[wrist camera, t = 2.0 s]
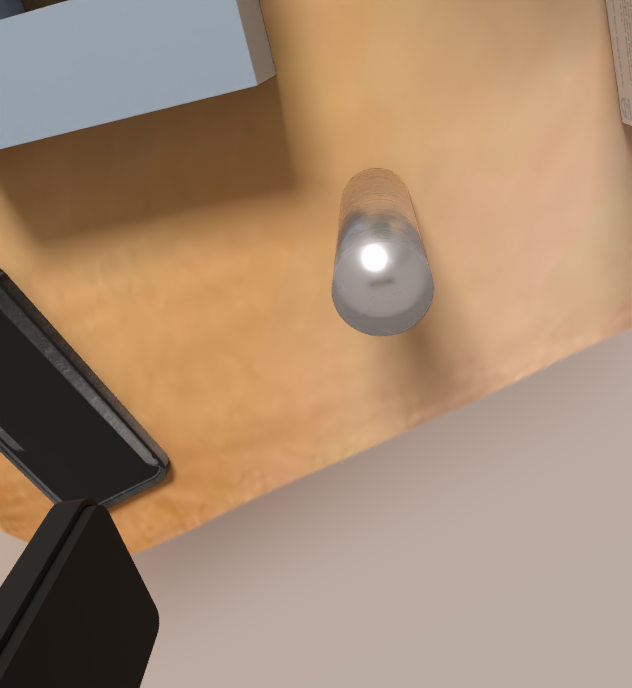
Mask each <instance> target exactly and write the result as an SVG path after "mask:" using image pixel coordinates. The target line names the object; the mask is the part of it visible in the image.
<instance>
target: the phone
mask: <svg viewBox="0 0 632 688" xmlns="http://www.w3.org/2000/svg"><path fill="white" fill-rule="evenodd" d="M0 452H1V453H2V454H3V455H4V456H5V457H6V458H7V459H8V460H9V461H10V462H11V463H13V464H14V465H15V466H16V467H17V468H18V469H19V470H20V471H21V472H22V473H23V474H24V475H25V476H26V477H27V478H28V479H29V480H30V481H31V482H32V483H33V484H34V485H35V486H36V487H37V488H38V489H39V490H40V491H42V492H43V493H44V494H45V495H46V496H47V497H48V498H49V499H50V500H51V501H52V502H53V503H54V504H56V503H59V502H64V501H71V500H78V499H85V498H92V499H93V500H95V501H96V502H97V504H98V505H103V506H104V507H106V509H107V508H109V507H111V506H113V505H115V504H117V503H119V502H121V501H123V500H125V499H127V498H130V497H132V496H134V495H136V494H138V493H140V492H142V491H144V490H146V489H148V488H150V487H152V486H154V485H156V484H158V483H160V482H161V481H163V480H164V478H165V477H166V474H167V472H168V470H169V467H170V460H169V457H168V456H167V454H166V453H165V452H164V451H163V450H162V448H161V447H160V446H159V445H158V444H157V443H156V442H155V441H154V439H153V438H152V437H151V436H150V435H149V434H148V433H147V432H146V430H145V429H144V428H143V427H142V426H141V425H140V424H139V423H138V421H137V420H136V419H135V418H134V417H133V416H132V415H131V414H130V412H129V411H128V410H127V409H126V408H125V407H124V406H123V405H122V403H121V402H120V401H119V400H118V399H117V398H116V397H115V396H114V394H113V393H112V392H111V391H110V390H109V389H108V388H107V387H106V385H105V384H104V383H103V382H102V381H101V380H100V379H99V378H98V376H97V375H96V374H95V373H94V372H93V371H92V370H91V369H90V367H89V366H88V365H87V364H86V363H85V362H84V361H83V360H82V358H81V357H80V356H79V355H78V354H77V353H76V352H75V351H74V349H73V348H72V347H71V346H70V345H69V344H68V343H67V342H66V340H65V339H64V338H63V337H62V336H61V335H60V334H59V333H58V331H57V330H56V329H55V328H54V327H53V326H52V325H51V324H50V322H49V321H48V320H47V319H46V318H45V317H44V316H43V315H42V314H41V312H40V311H39V310H38V309H37V308H36V307H35V306H34V305H33V303H32V302H31V301H30V300H29V299H28V298H27V297H26V296H25V294H24V293H23V292H22V291H21V290H20V289H19V288H18V287H17V285H16V284H15V283H14V282H13V281H12V280H11V279H10V278H9V276H8V275H7V274H6V273H5V272H4V271H3V270H1V269H0Z"/></svg>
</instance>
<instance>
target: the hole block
mask: <svg viewBox="0 0 632 688" xmlns="http://www.w3.org/2000/svg"><path fill="white" fill-rule="evenodd" d="M275 75H276V71H275V67H274V63H273V59H272V54H271V50H270V46H269V42H268V38H267V33H266V29H265V25H264V21H263V16H262V12H261V8H260V4H259V0H67V1H64V2H61V3H57V4H54V5H50V6H47V7H43V8H40V9H36V10H33V11H29V12H25V9H24V7H23V4H22V2H21V0H0V149H3V148H7V147H11V146H15V145H19V144H23V143H27V142H31V141H35V140H39V139H43V138H47V137H51V136H55V135H59V134H63V133H67V132H72V131H76V130H80V129H84V128H88V127H92V126H96V125H100V124H104V123H108V122H112V121H116V120H120V119H124V118H128V117H132V116H136V115H140V114H144V113H148V112H152V111H156V110H160V109H164V108H169V107H173V106H177V105H181V104H185V103H189V102H193V101H197V100H201V99H205V98H209V97H213V96H217V95H221V94H225V93H229V92H233V91H237V90H241V89H245V88H249V87H253V86H257V85H259V84H261V83H263V82H264V81H266V80H268V79H269V78H271V77H273V76H275Z"/></svg>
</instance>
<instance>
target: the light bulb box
mask: <svg viewBox="0 0 632 688" xmlns="http://www.w3.org/2000/svg"><path fill="white" fill-rule="evenodd" d="M606 6H607V14H608V21H609V28H610V35H611V43H612V50H613V57H614V66H615V73H616V80H617V88H618V96H619V103H620V111H621V118H622V122H623V123H625V124H627V125H630V126H632V0H606Z"/></svg>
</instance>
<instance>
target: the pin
mask: <svg viewBox="0 0 632 688" xmlns="http://www.w3.org/2000/svg"><path fill="white" fill-rule="evenodd" d="M433 289H434V287H433V279H432V275H431V271H430V268H429V264H428V261H427V257H426V253H425V250H424V246H423V243H422V239H421V235H420V232H419V228H418V225H417V221H416V218H415V214H414V210H413V207H412V203H411V200H410V196H409V193H408V190H407V187H406V185H405V183H404V182H403V181H402V179H401V178H400V177H399V176H397V175H396V174H395V173H393V172H391V171H389V170H386V169H380V168H373V169H368V170H364V171H362V172H360V173H358V174H357V175H355V176H354V177H353V178H352V179H351V180H350V181H349V182H348V184H347V185H346V187H345V189H344V192H343V195H342V203H341V211H340V220H339V229H338V238H337V246H336V255H335V264H334V273H333V282H332V298H333V302H334V305H335V308H336V310H337V312H338V313H339V315H340V316H341V318H342V319H343V320H344V321H345V322H346V323H347V324H348V325H350V326H351V327H353V328H354V329H356V330H358V331H360V332H362V333H365V334H369V335H375V336H388V335H394V334H398V333H401V332H403V331H405V330H407V329H409V328H411V327H412V326H414V325H415V324H416V323H417V322H419V321H420V320H421V318H422V317H423V316H424V315H425V313H426V312H427V310H428V308H429V306H430V304H431V301H432V297H433Z"/></svg>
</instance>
